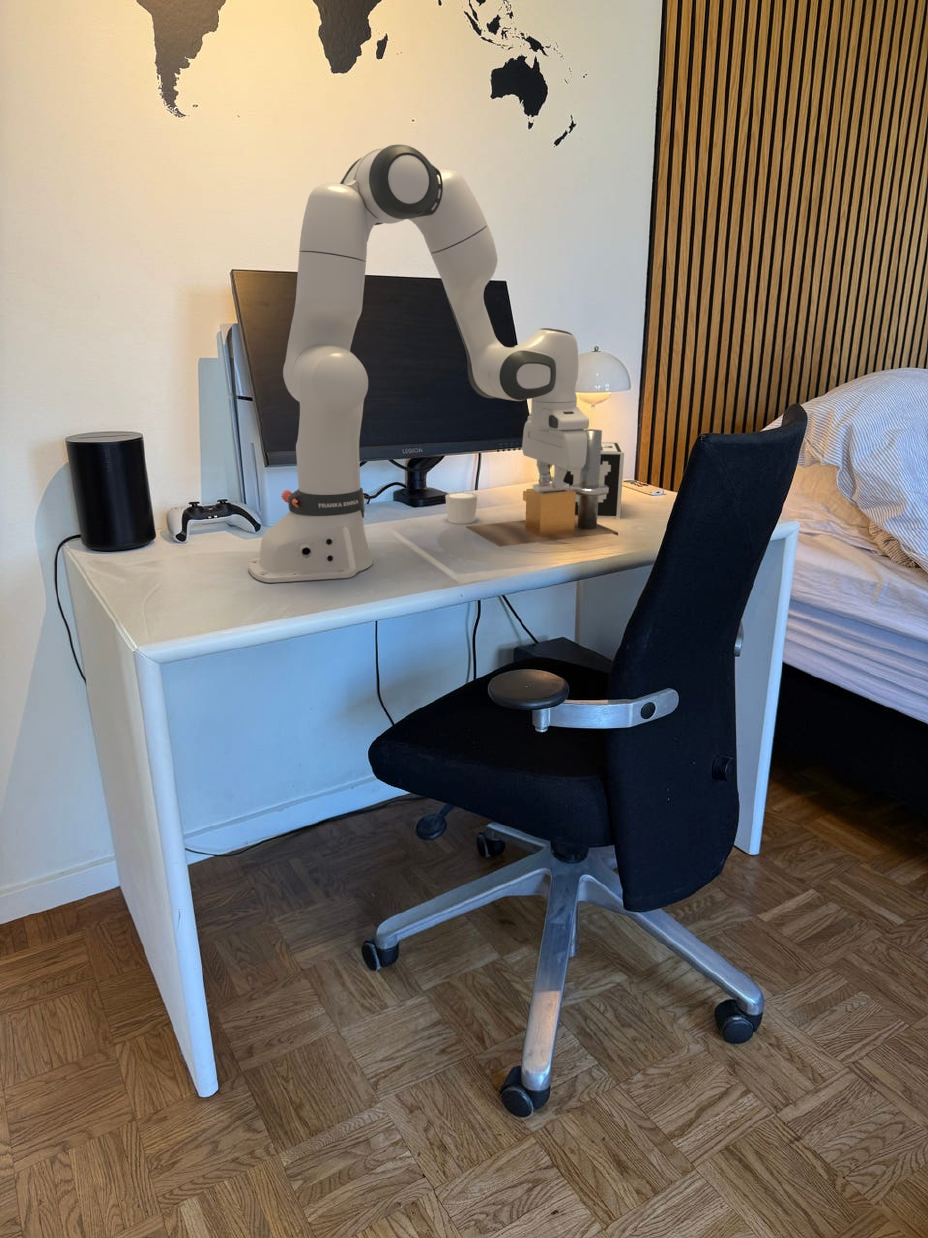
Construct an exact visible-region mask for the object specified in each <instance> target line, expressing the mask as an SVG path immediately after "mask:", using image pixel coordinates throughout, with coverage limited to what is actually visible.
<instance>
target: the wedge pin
mask: <svg viewBox="0 0 928 1238" xmlns="http://www.w3.org/2000/svg"><path fill="white" fill-rule="evenodd" d="M532 487H533V488H532V489H533V491H535V492H537V493H554V492H563V491H566V490H569V484H567V483H564V482H563V487H562V488H554V487H553V486H552V482H549V483H545V484H544V483H540V484H539V483H538V484H533V486H532Z"/></svg>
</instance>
